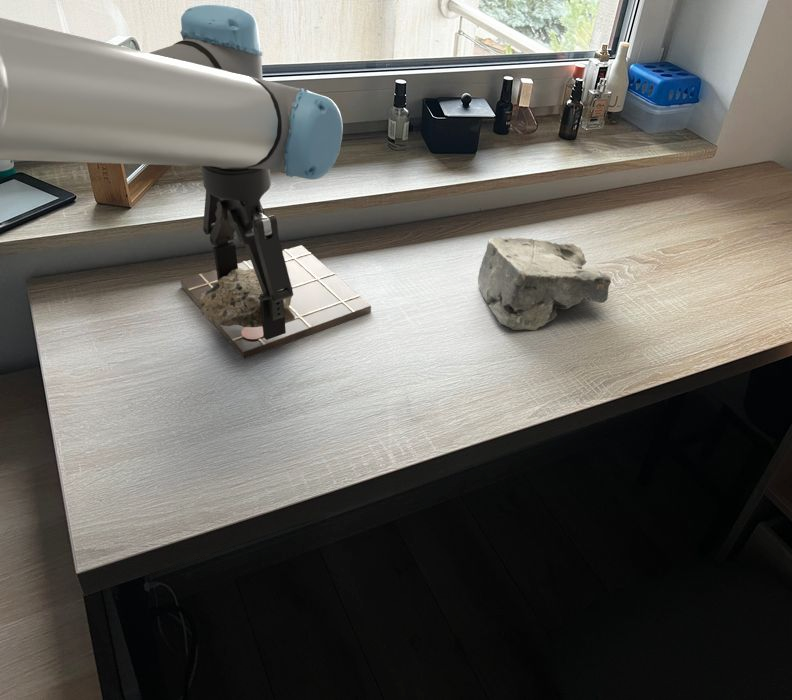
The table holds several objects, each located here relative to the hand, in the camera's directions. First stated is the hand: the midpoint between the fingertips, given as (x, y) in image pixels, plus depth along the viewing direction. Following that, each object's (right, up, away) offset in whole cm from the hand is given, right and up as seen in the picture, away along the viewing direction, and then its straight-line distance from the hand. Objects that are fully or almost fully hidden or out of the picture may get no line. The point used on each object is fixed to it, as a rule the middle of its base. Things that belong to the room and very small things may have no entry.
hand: (251, 310), depth 95 cm
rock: (0, 0, 0) cm, 1 cm away
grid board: (0, +2, +11) cm, 11 cm away
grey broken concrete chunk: (+40, +2, +18) cm, 44 cm away
